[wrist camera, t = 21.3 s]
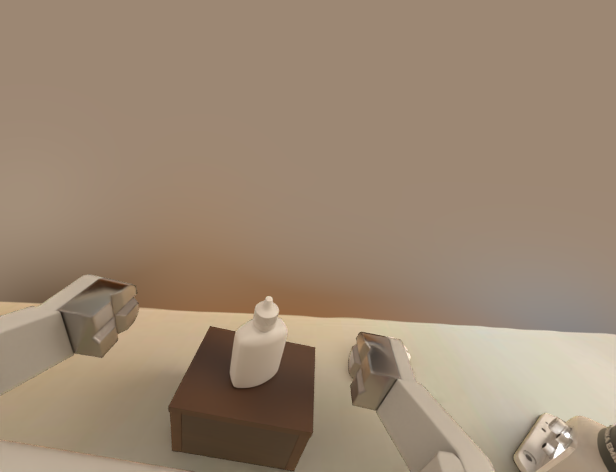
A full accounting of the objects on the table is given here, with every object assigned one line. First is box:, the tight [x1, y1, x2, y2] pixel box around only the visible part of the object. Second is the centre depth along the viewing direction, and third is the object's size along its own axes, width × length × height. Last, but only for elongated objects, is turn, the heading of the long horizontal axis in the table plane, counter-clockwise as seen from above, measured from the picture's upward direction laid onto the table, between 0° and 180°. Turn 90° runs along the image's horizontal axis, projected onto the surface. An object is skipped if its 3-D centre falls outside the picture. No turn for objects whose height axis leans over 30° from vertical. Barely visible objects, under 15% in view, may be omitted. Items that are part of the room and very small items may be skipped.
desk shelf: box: [168, 326, 315, 471], centre depth 32 cm, size 10×15×10 cm
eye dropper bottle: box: [230, 296, 288, 388], centre depth 27 cm, size 4×6×12 cm
